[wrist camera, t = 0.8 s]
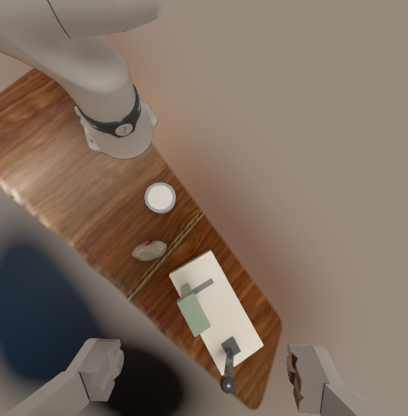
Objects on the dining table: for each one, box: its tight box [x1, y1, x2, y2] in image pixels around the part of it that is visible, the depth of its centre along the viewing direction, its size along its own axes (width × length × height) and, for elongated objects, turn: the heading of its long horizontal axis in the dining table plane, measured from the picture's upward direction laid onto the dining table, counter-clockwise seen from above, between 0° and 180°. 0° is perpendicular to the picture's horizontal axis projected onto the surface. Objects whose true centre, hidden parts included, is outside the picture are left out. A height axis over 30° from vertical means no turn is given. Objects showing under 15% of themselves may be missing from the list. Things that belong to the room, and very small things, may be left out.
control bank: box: [169, 250, 264, 375], centre depth 48 cm, size 24×11×5 cm, turn 29°
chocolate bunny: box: [132, 240, 167, 261], centre depth 46 cm, size 6×8×10 cm
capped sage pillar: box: [177, 283, 211, 337], centre depth 40 cm, size 6×3×13 cm, turn 29°
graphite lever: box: [220, 350, 235, 393], centre depth 40 cm, size 3×3×9 cm
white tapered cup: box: [144, 182, 176, 214], centre depth 50 cm, size 7×7×7 cm
